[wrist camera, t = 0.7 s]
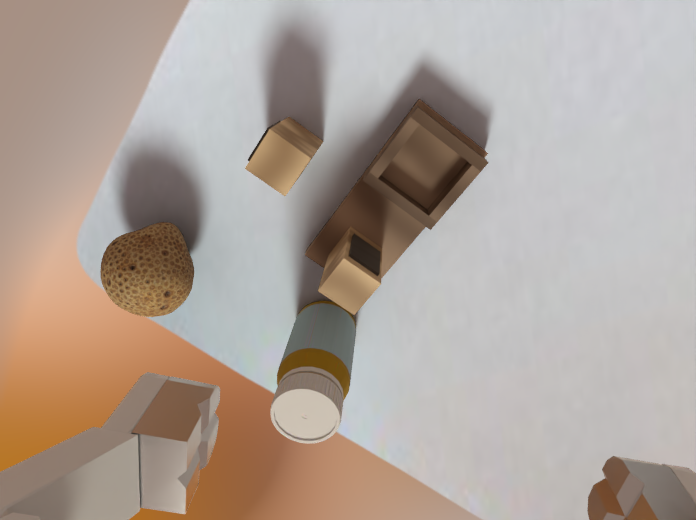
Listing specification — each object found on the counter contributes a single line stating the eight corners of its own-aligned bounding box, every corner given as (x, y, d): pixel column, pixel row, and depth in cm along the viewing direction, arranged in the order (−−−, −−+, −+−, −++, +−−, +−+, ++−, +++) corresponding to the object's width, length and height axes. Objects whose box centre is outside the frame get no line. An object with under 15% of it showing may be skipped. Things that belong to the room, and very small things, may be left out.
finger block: (323, 141, 45) (310, 158, 38) (301, 174, 47) (285, 196, 40) (286, 114, 45) (266, 126, 37) (265, 148, 46) (241, 166, 39)
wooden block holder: (419, 98, 43) (426, 110, 34) (484, 150, 44) (508, 174, 36) (306, 249, 50) (289, 290, 42) (366, 289, 52) (362, 337, 43)
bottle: (289, 303, 53) (254, 390, 39) (348, 293, 52) (334, 378, 38) (305, 353, 56) (278, 451, 42) (362, 344, 55) (353, 442, 41)
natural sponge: (145, 290, 54) (95, 339, 45) (119, 218, 50) (59, 254, 41) (219, 283, 53) (184, 331, 44) (198, 208, 49) (155, 243, 40)
